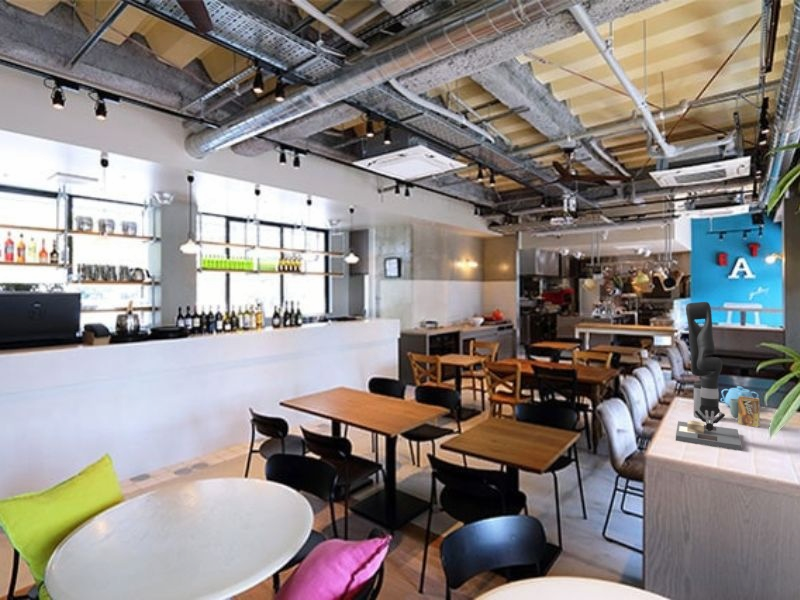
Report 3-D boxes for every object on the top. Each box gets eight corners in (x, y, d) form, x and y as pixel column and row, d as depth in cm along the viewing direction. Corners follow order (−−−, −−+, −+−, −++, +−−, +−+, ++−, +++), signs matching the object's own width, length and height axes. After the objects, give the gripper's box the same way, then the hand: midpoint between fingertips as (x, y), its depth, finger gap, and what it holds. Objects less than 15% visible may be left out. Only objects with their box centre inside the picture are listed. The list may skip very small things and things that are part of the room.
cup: (731, 418, 254) (731, 401, 254) (728, 414, 261) (728, 398, 261) (748, 419, 251) (748, 402, 251) (745, 416, 258) (745, 399, 258)
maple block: (704, 430, 226) (704, 422, 226) (703, 433, 221) (703, 425, 221) (688, 427, 230) (688, 420, 230) (687, 431, 225) (687, 423, 225)
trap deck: (737, 434, 227) (737, 429, 227) (741, 450, 204) (741, 445, 204) (678, 425, 242) (678, 421, 242) (675, 440, 219) (675, 435, 219)
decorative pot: (763, 411, 268) (763, 389, 267) (738, 412, 267) (738, 389, 266) (741, 404, 284) (741, 383, 284) (717, 405, 283) (717, 384, 283)
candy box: (759, 426, 240) (759, 398, 239) (758, 427, 237) (758, 399, 236) (739, 422, 246) (739, 395, 246) (737, 424, 243) (738, 396, 243)
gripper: (725, 396, 221) (725, 430, 222) (693, 393, 229) (693, 426, 229) (726, 399, 215) (726, 434, 215) (693, 396, 222) (693, 430, 223)
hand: (709, 430), depth 222 cm, fingers closed
